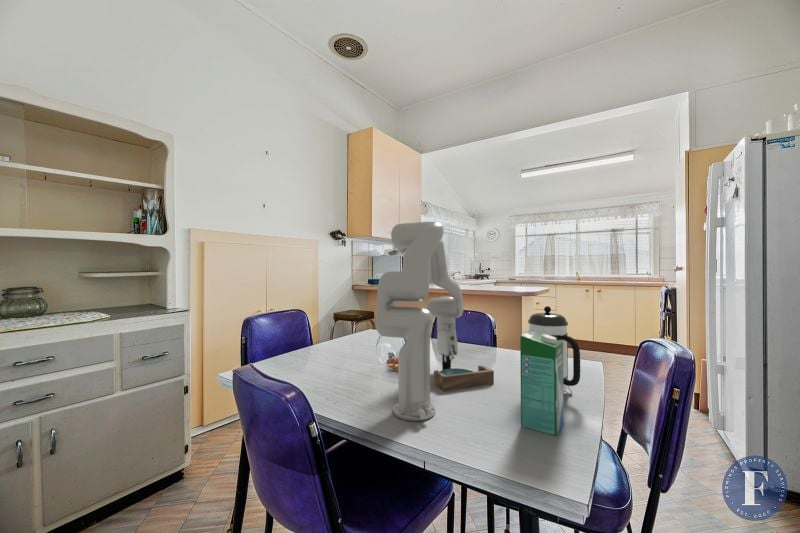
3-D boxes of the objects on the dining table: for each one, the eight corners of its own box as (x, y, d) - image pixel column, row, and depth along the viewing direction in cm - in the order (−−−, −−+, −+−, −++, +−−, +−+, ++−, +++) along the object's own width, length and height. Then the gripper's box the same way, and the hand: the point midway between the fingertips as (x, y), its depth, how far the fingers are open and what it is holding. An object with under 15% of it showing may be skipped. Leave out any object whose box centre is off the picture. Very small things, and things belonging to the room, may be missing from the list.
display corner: (493, 384, 124) (493, 370, 124) (444, 391, 117) (443, 377, 117) (481, 377, 132) (481, 364, 132) (433, 384, 124) (433, 370, 124)
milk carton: (556, 436, 85) (555, 338, 85) (520, 426, 91) (520, 334, 91) (563, 423, 92) (563, 333, 93) (530, 414, 98) (529, 329, 98)
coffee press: (522, 396, 112) (521, 307, 112) (528, 382, 126) (527, 303, 126) (580, 406, 104) (579, 310, 104) (579, 389, 118) (579, 305, 118)
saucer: (485, 382, 126) (485, 375, 126) (454, 389, 119) (454, 382, 119) (460, 372, 139) (460, 366, 139) (431, 378, 132) (431, 371, 132)
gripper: (463, 329, 132) (464, 375, 132) (445, 323, 146) (445, 364, 146) (447, 330, 129) (447, 377, 129) (430, 324, 143) (430, 366, 143)
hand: (446, 370), depth 137 cm, fingers closed
